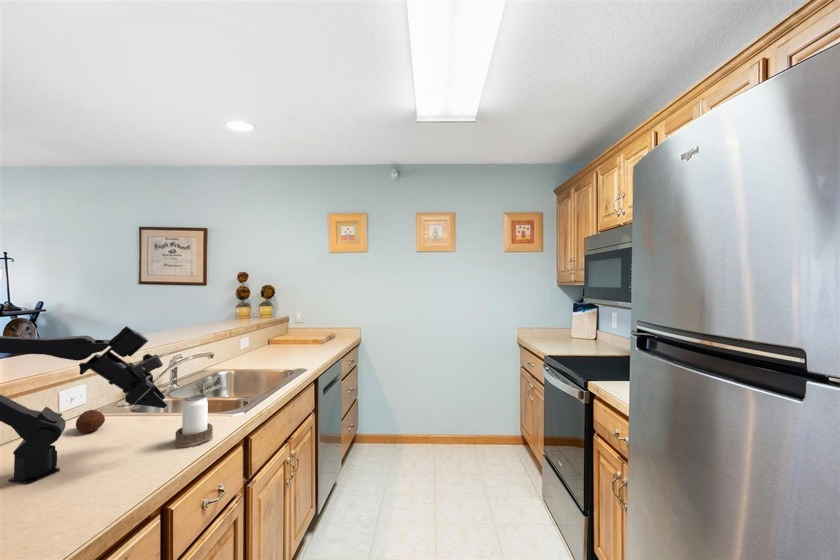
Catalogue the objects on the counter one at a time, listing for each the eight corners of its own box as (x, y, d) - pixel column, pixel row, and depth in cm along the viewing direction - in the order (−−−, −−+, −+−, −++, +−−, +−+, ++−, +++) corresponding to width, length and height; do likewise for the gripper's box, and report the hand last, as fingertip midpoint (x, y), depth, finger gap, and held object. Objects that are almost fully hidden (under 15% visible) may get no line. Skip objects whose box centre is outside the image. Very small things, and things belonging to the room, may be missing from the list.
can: (209, 437, 108) (210, 397, 108) (184, 443, 103) (184, 402, 104) (204, 431, 112) (205, 392, 113) (180, 436, 108) (180, 397, 108)
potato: (105, 423, 121) (105, 404, 121) (104, 432, 114) (105, 412, 114) (76, 429, 116) (77, 409, 117) (74, 438, 109) (74, 417, 110)
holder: (195, 448, 102) (195, 436, 102) (166, 446, 104) (167, 434, 104) (219, 435, 112) (220, 424, 112) (193, 432, 114) (193, 421, 114)
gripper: (142, 351, 93) (191, 386, 100) (142, 342, 108) (185, 373, 115) (101, 387, 88) (156, 421, 95) (107, 372, 103) (154, 403, 110)
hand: (164, 402), depth 104 cm, fingers open, 9 cm apart
